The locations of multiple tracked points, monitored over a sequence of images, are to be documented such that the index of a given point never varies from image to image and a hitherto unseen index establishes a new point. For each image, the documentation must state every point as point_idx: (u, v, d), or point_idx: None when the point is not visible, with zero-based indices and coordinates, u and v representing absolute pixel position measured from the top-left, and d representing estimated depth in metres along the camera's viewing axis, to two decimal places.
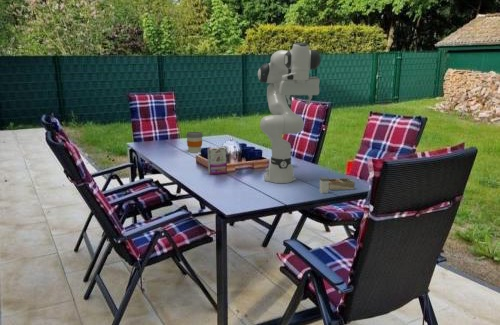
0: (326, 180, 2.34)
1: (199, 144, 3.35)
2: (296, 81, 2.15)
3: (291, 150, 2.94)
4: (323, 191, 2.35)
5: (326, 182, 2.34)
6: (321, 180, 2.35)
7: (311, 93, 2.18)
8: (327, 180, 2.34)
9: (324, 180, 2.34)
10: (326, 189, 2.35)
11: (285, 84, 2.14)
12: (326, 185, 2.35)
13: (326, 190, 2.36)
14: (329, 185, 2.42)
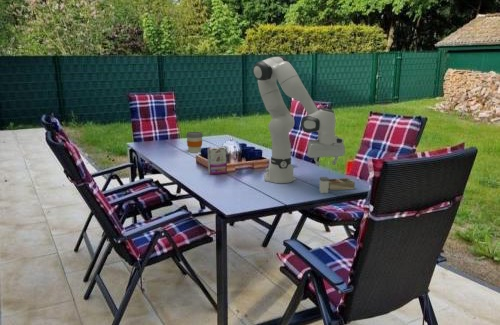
0: (326, 180, 2.34)
1: (199, 144, 3.35)
2: None
3: (291, 150, 2.94)
4: (323, 191, 2.35)
5: (326, 182, 2.35)
6: (321, 180, 2.35)
7: None
8: (327, 180, 2.34)
9: (324, 180, 2.34)
10: (326, 189, 2.35)
11: None
12: (326, 185, 2.35)
13: (326, 190, 2.36)
14: (329, 185, 2.42)
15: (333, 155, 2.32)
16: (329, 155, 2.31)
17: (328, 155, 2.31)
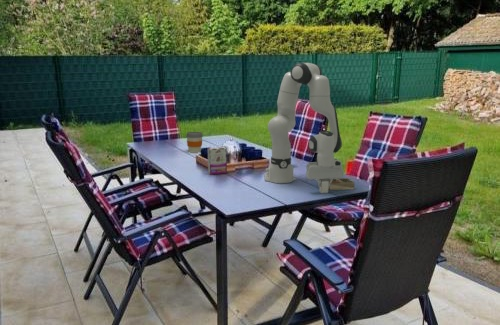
0: (326, 180, 2.34)
1: (199, 144, 3.35)
2: None
3: (291, 150, 2.94)
4: (323, 191, 2.35)
5: (326, 182, 2.34)
6: (321, 180, 2.35)
7: None
8: (327, 180, 2.34)
9: (324, 180, 2.34)
10: (326, 189, 2.35)
11: None
12: (326, 185, 2.35)
13: (326, 190, 2.36)
14: None
15: (331, 177, 2.34)
16: (327, 177, 2.34)
17: (326, 177, 2.34)
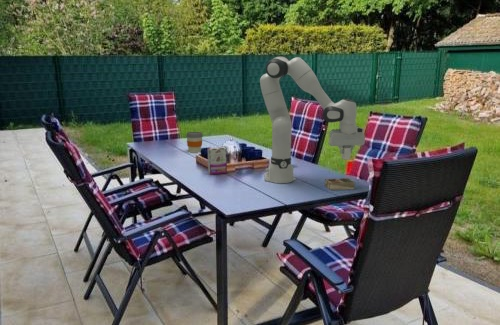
0: (348, 147, 2.41)
1: (199, 144, 3.35)
2: None
3: (291, 150, 2.94)
4: (345, 158, 2.42)
5: (348, 149, 2.41)
6: (343, 147, 2.41)
7: None
8: (349, 147, 2.41)
9: (346, 147, 2.40)
10: (348, 156, 2.42)
11: None
12: (348, 152, 2.41)
13: (348, 157, 2.42)
14: (329, 185, 2.42)
15: (353, 144, 2.41)
16: (350, 144, 2.40)
17: (349, 144, 2.40)
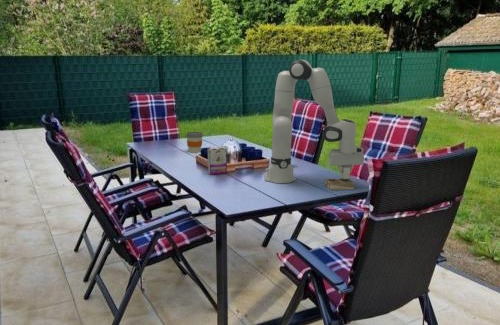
0: (348, 166, 2.44)
1: (199, 144, 3.35)
2: None
3: (291, 150, 2.94)
4: (345, 177, 2.45)
5: (347, 168, 2.44)
6: (343, 166, 2.45)
7: None
8: (349, 166, 2.44)
9: (346, 166, 2.43)
10: (348, 175, 2.45)
11: None
12: (348, 171, 2.44)
13: (348, 176, 2.45)
14: (329, 185, 2.42)
15: (352, 163, 2.44)
16: (349, 163, 2.44)
17: (348, 163, 2.43)
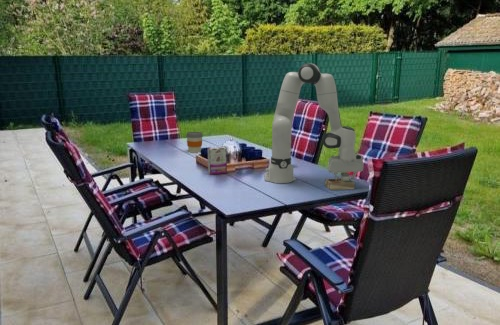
0: (347, 175, 2.45)
1: (199, 144, 3.35)
2: None
3: (291, 150, 2.94)
4: None
5: (347, 177, 2.45)
6: (342, 175, 2.46)
7: None
8: (348, 175, 2.45)
9: (345, 175, 2.45)
10: None
11: None
12: (347, 180, 2.46)
13: None
14: (329, 185, 2.42)
15: (352, 170, 2.45)
16: (348, 170, 2.44)
17: (347, 170, 2.44)
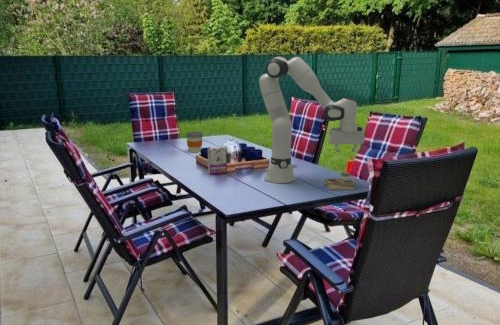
0: (347, 175, 2.45)
1: (199, 144, 3.35)
2: None
3: (291, 150, 2.94)
4: None
5: (347, 177, 2.45)
6: (342, 175, 2.46)
7: None
8: (348, 175, 2.45)
9: (345, 175, 2.45)
10: None
11: None
12: (347, 180, 2.45)
13: None
14: (329, 185, 2.42)
15: (353, 143, 2.43)
16: (349, 142, 2.43)
17: (348, 142, 2.42)
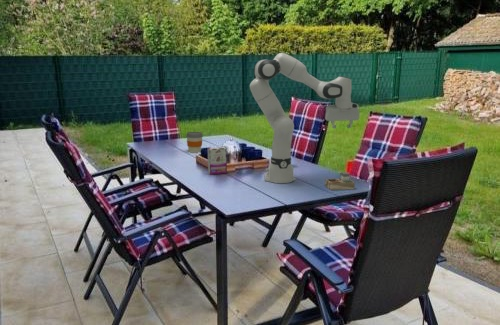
0: (347, 175, 2.45)
1: (199, 144, 3.35)
2: None
3: (291, 150, 2.94)
4: None
5: (347, 177, 2.45)
6: (342, 175, 2.46)
7: None
8: (348, 175, 2.45)
9: (345, 175, 2.45)
10: None
11: None
12: (347, 180, 2.45)
13: None
14: (329, 185, 2.42)
15: (348, 119, 2.56)
16: (345, 119, 2.55)
17: (344, 119, 2.55)
